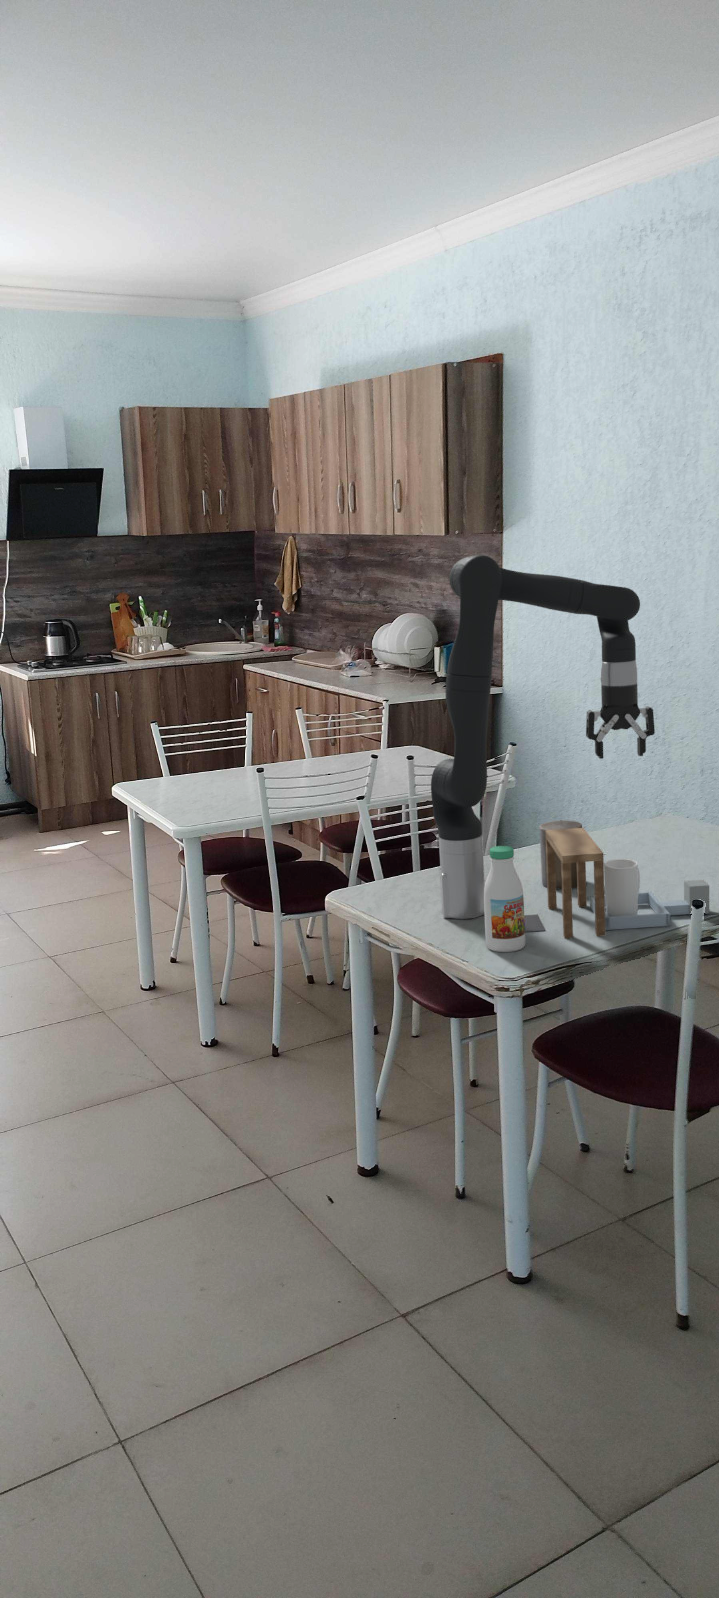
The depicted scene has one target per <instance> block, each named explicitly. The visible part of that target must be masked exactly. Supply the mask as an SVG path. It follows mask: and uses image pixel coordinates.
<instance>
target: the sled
mask: <svg viewBox="0 0 719 1598" xmlns="http://www.w3.org/2000/svg"><path fill="white" fill-rule="evenodd" d="M683 893H684V894H683V895H684V896H683V899H682V900H681V899H680V900H670V901H669V900H668V901H660V900H659V898H657V896H656V895H655V894H654V893H653V892H652V891H650V890H649V891H639V895H638V905H647V904H648V905H649V906H650V908H651V909H652V910H653V911H654V913H648V914H647V913H645V914H644V913H643V914H638V915H629V916H614V917H608V916H607V914H606V912H605V931H608V930H622V929H623V930H624V929H637V928H639V929H640V928H651V927H665V926H666V927H667V926H671V916H678V915H679V916H680V915H690V913H691V911H692V908H691V902H692V901H693V900H695V899H701V900H703V901H705V903H706V907H705V914H706V915H707V914H710V884H708V882H706V881H705V879H695V880H684V881H683ZM604 902H605V908H606V899H605V894H604ZM589 907H590V909H591V910H592V912H593V913H594V914H595V894H594V895H589ZM705 914H704V915H705Z"/></svg>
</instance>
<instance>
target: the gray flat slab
mask: <svg viewBox="0 0 719 1598" xmlns="http://www.w3.org/2000/svg"><path fill="white" fill-rule="evenodd" d="M524 917H525V934H526V933H536V932H538V933H539V932H546V928H545V926H544V924H543V922H542V920H541V918H540V916H539V914H524Z"/></svg>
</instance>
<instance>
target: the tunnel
mask: <svg viewBox="0 0 719 1598" xmlns="http://www.w3.org/2000/svg"><path fill="white" fill-rule="evenodd" d="M545 833H546V862H547V887H546V889H547V907H548V909H549V910H556V909H557V908H558V905H557V904H558V903H557V901H558V900H557V889H556V870H555V852H556V854H557V856H558V857H559V859H560V860H561V873H562V889H561V895H562V896H561V897H562V899H561V900H562V901H561V902H562V925H563V926H562V930H563V931H562V932H563V933H562V934H563V938H564V939H573V938H574V928H573V927H574V925H573V923H574V922H573V896H572V895H573V893H572V889H573V888H572V887H571V863H575V862H577V887H576V888H577V889H576V890H577V891H576V892H577V893H576V894H577V906H578V907H579V908H586V907H587V906H588V905H587V904H588V903H587V873H586V872H587V869H586V867H587V866H586V863H588V862H593V878H594V879H593V880H594V881H593V882H594V883H593V884H594V887H593V888H594V895H595V913H594V920H595V924H594V926H595V935H596V936H597V937H606V930H605V913H606V907H605V902H604V895H605V878H604V863H605V861H604V852H603V850H601V848H600V847H599V846H598V845H597V843H596V842H595V841H594V839H593V838H592V837H591V836H590V834H589V833H588V832H587V830H586V829H585V828H584V827H582V828H573V829H558V830H545Z"/></svg>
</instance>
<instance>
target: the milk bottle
mask: <svg viewBox="0 0 719 1598" xmlns="http://www.w3.org/2000/svg"><path fill="white" fill-rule="evenodd" d="M514 851H515V850H514V847H512V846H510V845H497V846H496V845H495V846H492V847H491V848H490V849H489V857H490V858H489V859H490V862H491V864H490V868H489V869H490V870H489V872H488V875H487V876H486V880H485V887H484V912H485V914H484V931H485V945H486V947H487V948H488V949H489V950H491V951H493V952H500V953H511V952H518V951H520V950H522V949H523V948H524V947H525V945H526V933H525V917H524V915H525V901H524V899H525V898H524V889H523V885H522V882H521V879H520V877H519V875H518V873H517V871H516V868H515V865H514V860H515V857H514V855H515V852H514Z"/></svg>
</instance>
